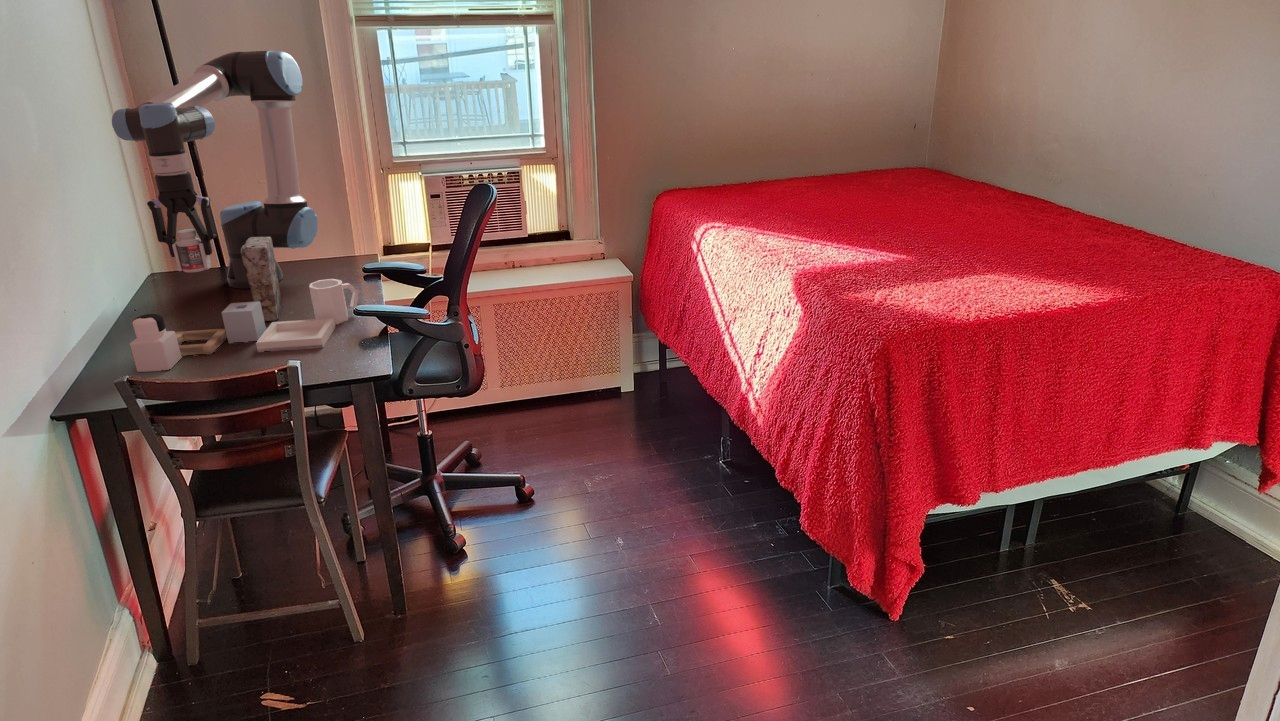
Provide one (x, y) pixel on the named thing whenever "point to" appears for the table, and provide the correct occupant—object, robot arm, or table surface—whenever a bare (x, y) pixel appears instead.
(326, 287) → the mug
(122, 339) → the table surface
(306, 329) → the tray
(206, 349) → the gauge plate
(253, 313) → the blue-grey block
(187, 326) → the table surface
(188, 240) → the pill bottle
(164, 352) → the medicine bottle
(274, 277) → the stone block
